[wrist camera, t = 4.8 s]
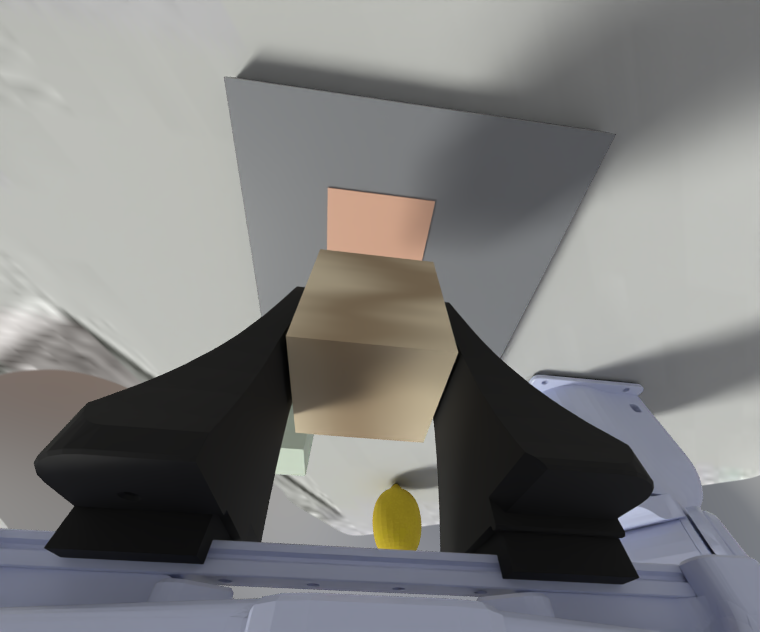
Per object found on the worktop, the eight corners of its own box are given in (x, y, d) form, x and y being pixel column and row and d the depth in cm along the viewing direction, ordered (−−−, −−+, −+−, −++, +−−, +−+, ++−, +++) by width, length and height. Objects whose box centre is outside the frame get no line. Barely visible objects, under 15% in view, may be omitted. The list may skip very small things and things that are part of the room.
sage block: (315, 396, 27) (303, 449, 23) (316, 423, 30) (305, 476, 26) (265, 392, 27) (245, 445, 23) (271, 420, 29) (253, 472, 25)
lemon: (394, 497, 40) (396, 575, 33) (364, 483, 37) (360, 565, 31) (427, 484, 37) (435, 566, 31) (397, 469, 35) (399, 554, 29)
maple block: (433, 261, 12) (458, 352, 8) (412, 344, 14) (423, 442, 10) (319, 249, 11) (286, 336, 7) (320, 335, 14) (295, 432, 10)
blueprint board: (600, 130, 14) (617, 134, 13) (475, 387, 26) (479, 399, 25) (235, 77, 13) (222, 76, 12) (275, 369, 25) (270, 381, 24)
